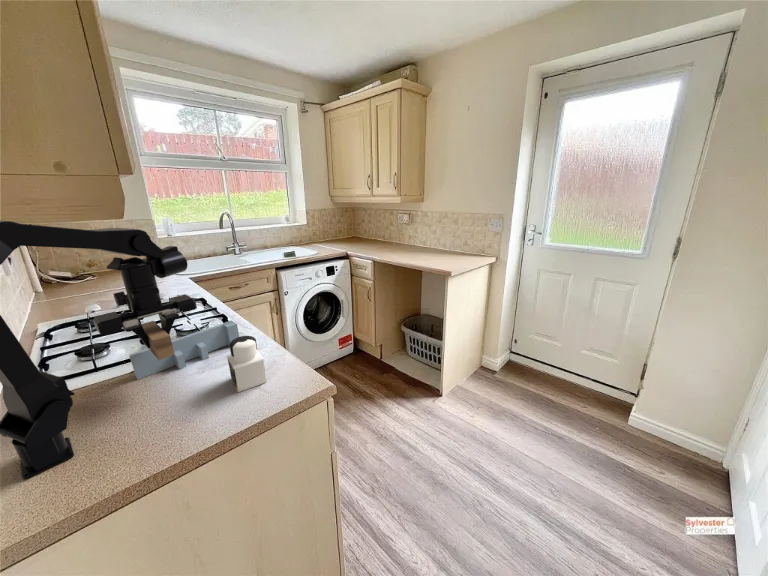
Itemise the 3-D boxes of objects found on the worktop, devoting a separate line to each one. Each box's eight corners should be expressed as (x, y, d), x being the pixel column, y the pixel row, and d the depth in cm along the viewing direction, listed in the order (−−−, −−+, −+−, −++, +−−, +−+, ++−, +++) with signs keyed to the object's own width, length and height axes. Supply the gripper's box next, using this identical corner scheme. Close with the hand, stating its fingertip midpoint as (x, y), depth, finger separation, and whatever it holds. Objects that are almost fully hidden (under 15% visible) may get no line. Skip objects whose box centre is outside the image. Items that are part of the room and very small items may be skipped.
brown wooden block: (174, 354, 73) (169, 335, 72) (159, 360, 71) (153, 340, 69) (158, 338, 80) (153, 320, 79) (143, 342, 78) (138, 325, 76)
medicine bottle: (231, 378, 81) (223, 338, 77) (259, 369, 85) (253, 330, 81) (237, 393, 75) (230, 350, 71) (267, 382, 79) (261, 341, 75)
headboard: (241, 344, 97) (238, 324, 95) (141, 384, 78) (133, 360, 76) (234, 340, 99) (231, 320, 97) (136, 377, 81) (129, 354, 78)
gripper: (174, 268, 82) (186, 322, 87) (78, 286, 68) (100, 348, 73) (191, 277, 75) (203, 334, 80) (88, 299, 61) (111, 366, 67)
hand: (157, 344), depth 75 cm, fingers closed on brown wooden block, 3 cm apart
